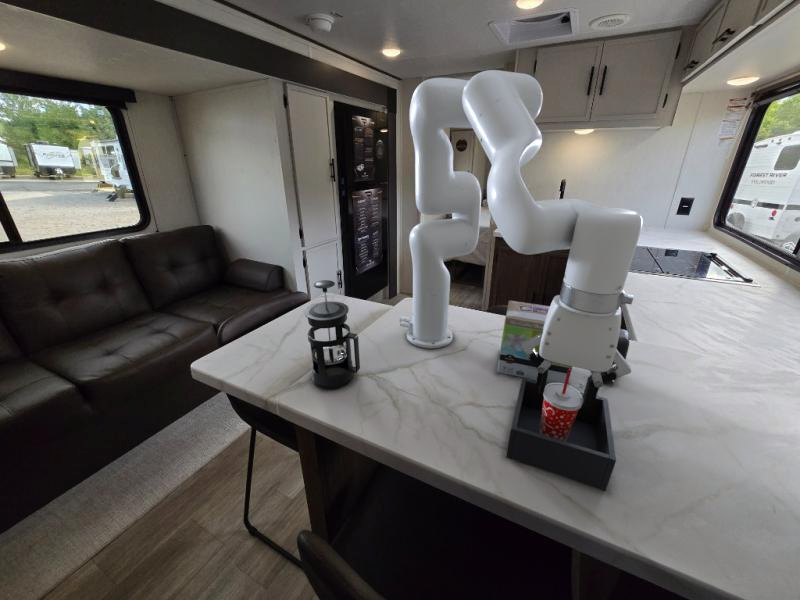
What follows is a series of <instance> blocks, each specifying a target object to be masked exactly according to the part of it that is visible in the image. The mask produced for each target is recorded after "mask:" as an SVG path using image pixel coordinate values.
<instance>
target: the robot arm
mask: <svg viewBox="0 0 800 600" xmlns="http://www.w3.org/2000/svg"><path fill="white" fill-rule="evenodd" d="M543 100H544V96H543V90H542V88H541V84H540V83H539V82H538V80H537V79H536V78H535V77H534V76H532V75H530V74H527V73H522V72H513V71H506V70H498V69H487V70H483V71H481V72H478V73H476V74H475V75H473V76H472V77H470V79H469V80H468V79H461V78H452V77H434V78H433V77H432V78H428V79H425V80H424V81H422V82H420V83H419V84H418V85H417V87H416V88H415V90H414V92H413V94H412V97H411V100H410V106H409V127H410V128H409V129H410V134H411V138H412V141H413V148H414V182H415V183H414V187H415V189H414V191H415V193H414V194H415V205H416V208H417V210H418V212H419V213H421V214H423V215H427V216H438V215H439V216H440V215H441V216H442V215H449V214H451V217H452V218H447V219H434V220H427V221H423V222H420V223H418V224H416V225H415V226H413V227H412V229H411V230H410V233H409V236H408V243H409V249H410V254H411V255H410V256H411V263H412V316H411V317H408V316H403V315H400V318H399V326H400V327H402V328H407V331H406V339H407V340H408V342H410V344H412V345H414V346H416V347H419V348H422V349H423V348H424V349H439V348H443V347H446V346H448V345H449V344H450V343H451V342H452V341H453V339H454V333H453V331H452V330H451V329H450V328H449V327H448V324H449V309H450V291H451V275H450V272H449V270H448V268H447V266H446V265H445V262H444V260H447V259H451V258H457V257H463V256H467V255H469V254H471V253H473V252H474V251H475V249H476V248H477V246H478V242H479V236H480V224H481V210H482V209H481V208H482V206H481V205H482V190H481V189H482V188H481V185H480V182H479V179H478V178H477V177H476V176H475V175H474V174H473V173H471V172H470V171H462V170H459V171H454V148H453V145H452V143H451V141H450V138H449V136H448V134H447V133H446V131H444V129H445V128H453V129H473V131H474V134H475V135H476V137H477V139H478V141H479V143H480V145H481V147H482V149H483V151H484V152H485V154H486V157H487V158H488V160H489V163H490V164H491V167H490V170H489V172H488V175H487V182H486V183H487V184H486V201H487V207H488V210H489V213H490V215H491V218H492V219H493V221H494V223H495V226H496V227H497V229H498V231H499V234H500V235H501V237H502V239H503V240H504V241H505V243H506V244H507V245H508V246H509V247H510V248H511V249H512V250H513V251H515V252H516V253H518V254H522V255H525V256H526V255H527V256H529V255H536V254H537V255H538V254H543V253H548V252H552V251H561V250H569V253H568V258H567V262H566V267H565V272H564V276H563V279H562V284H561V289H560V292H559V294H557V295H555V296H554V297H553V299H552V301H551V303H550V305H549V306H550V308H549V310H548V313H547V316H546V320H545V323H544V327H543V331H542V333H540V334H538V335H536V336H534V337H532V338H530V339H528V340H526V341H524V342H523V343H522V346H521V348H522V350H523V351H524V352H525V353H526V355H527V356H528V357H529V359H530V360H531V362H532V363H533V364H534V365H535V367H536V368H537V371H538V376H537V380H535V381H536V385H537V386H540V388H539V394H543V393H544V389H545V385H546V384H547V382H546V381H547V376H548V368H549V367H550V366H551V364H552V363H553V362H556V363H560V364H564V365H569V366H573V367H574V368H577V369H581V370H582V369H583V370H586V371H590V374H591V375H589V376H588V377H587V381H586V383H585V387H584V389H583V390H584V391H583V393H584V394H583V399H584V405H585V406H587V407H589V405H590V401H591V400H594V401H595V399H596V396H598V392H599V388H602V387H603V386H604V385H605V384H609V383H608V382H610V381H613V380H615V381H616V380H617V378H622V377H623V376H627V375H630V374H631V373H632V368H631V365H630V364H629V362H628V361H627V360H625V359H624V358H623V356H622V355H621V354H620V353H619V352H618V350H617V349H616V348H617V343H618V338H619V333H620V329H621V326H622V307H621V306H622V305H632V304H633V301H634V295H633V294H630V293H629V294H628V293H627V292H625V290H624V288H625V285H626V281H627V278H628V274H629V271H630V269H631V265H632V263H633V259H634V255H635V252H636V250H637V249H636V248H637V245H638V242H639V239H640V235H641V233H642V228H643V222H644V221H643V218H642V215H640V213H639V212H637V211H634V210H632V209H628V208H624V207H623V208H622V207H613V206H601V205H598V204H596V203H592V202H590V201H588V200H584V199H580V198H574V197H572V198H571V197H570V198H569V197H567V198H566V197H565V198H553V199H542V200H534V198H533V197H532V195H531V193H530V191H529V190H528V188H527V186H526V184H525V182H524V180H523V178H522V174H521V168H522V167H524V166H525V165H527V164H528V163H529V162H531V160H532V159H533V158H534V157H535V156H536V154H537V153H538V152H539V150H540V149H541V146H542V143H543V136H542V133H541V130H540V128H539V127H538V126H537V123H536V122H535V120H536V118H538V116H539V115H540V112H541V109H542V108H543V107H542V106H543ZM538 345H540V350H539V353H538V352H537V351H535V350H534V347H536V346H538ZM539 354H540V355H539ZM613 362H614V363H615V364H614V366H612V364H613ZM611 366H612V367H613V368H611ZM573 367H572V368H573Z"/></svg>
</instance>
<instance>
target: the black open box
mask: <svg viewBox="0 0 800 600" xmlns="http://www.w3.org/2000/svg"><path fill="white" fill-rule="evenodd" d="M547 384H548V383H546V385H547ZM546 385H545V386H546ZM539 388H540V386H537V385H536V380H533V379H529V378H524V377H521V381H520V387H519V390H518V395H517V400H516V404H515V408H514V413H513V416H512V417H513V418H512V421H511V428H510V432H509V438H508V442H507V443H508V444H507V449H506V454H505V455H506V456H505V458H506V459H509V460H511V461H512V460H513V461H515V462H517V463H521V464H524V465H527V466H530V467H533V468H536V469H539V470H542V471H544V472H547V473H550V474H554V475H555V476H560V477H563V478H564V479H565V478H566V479H568V480H571V481H573V482H577V483H581V484H583V485H585V486H589V487H591V488H594V489H598V490H601V491H603V492H606V491H607V487H608V485H609V482H610V479H611V477H612V473H613V471H614V468H615V464H616V462H617V458H616V451H615V449H616V448H615V442H614V435H613V427H612V421H611V413H610V406H609V400H608V399H609V398H606V397H603V396H599V395H596V399H595V401H594V400H591V401H590V405H589V407H587V406H585V405H584V402H583V404H582V406H581V408H580V409H579V410H578V412H577V415H576V418H575V420H574V423H573V425H572V428H571V430H570V433H569V436H568V438H567V440H566V442H565V441H562V440H558V439H555V438H552V437H548V436H545V435H542V434H540V433H539V428H540V421H541V414H542V407H543V400H544V396H543V394H539ZM579 392H580V393H581V394H582V396H583V394H584V392H583V391H579ZM583 400H584V399H583Z"/></svg>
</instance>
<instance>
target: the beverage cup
mask: <svg viewBox="0 0 800 600" xmlns="http://www.w3.org/2000/svg"><path fill="white" fill-rule="evenodd" d="M570 373H572V371H571V369H568V372H567V376H566V379H565V383H564V384H563V383H546V384H547V385H546V386H545V389H544V393H543V396H544V400H543V407H542V414H541V421H540V428H539V433H540V434H542V435H545V436H548V437H552V438H555V439H558V440H562V441H565V442H566V440H567V438H568V436H569V433H570V430H571V428H572V425H573V423H574V420H575V418H576V415H577V412H578V410H579V409H580V408H581V406H582V404H583V402H584V400H583V396H582V394H581V393H580V392H581V391H580V390H578V389H577V388H575V387H574V386H571V385H569V381H570V378H571V374H570ZM569 377H570V378H569Z"/></svg>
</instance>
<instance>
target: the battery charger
mask: <svg viewBox="0 0 800 600" xmlns="http://www.w3.org/2000/svg"><path fill="white" fill-rule="evenodd" d="M616 349H617V350H618V352H619V353H620V354H621V355H622V356H623V358H624V359H625V360H626V359H627V356H628V353H629V349H630V334H629V332H628V331H627V330H625V329H623V328H620V333H619V338H618V343H617V348H616ZM626 361H627V360H626ZM615 365H616V364H615V363H614V362H613V364H612V366H611V368H613V367H614V366H615ZM615 381H616V379H615V380H613V381H610V382H608V383H607V384H609V385H613V384H615Z"/></svg>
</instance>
